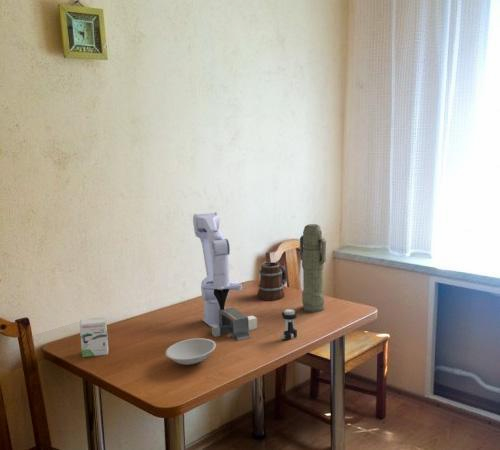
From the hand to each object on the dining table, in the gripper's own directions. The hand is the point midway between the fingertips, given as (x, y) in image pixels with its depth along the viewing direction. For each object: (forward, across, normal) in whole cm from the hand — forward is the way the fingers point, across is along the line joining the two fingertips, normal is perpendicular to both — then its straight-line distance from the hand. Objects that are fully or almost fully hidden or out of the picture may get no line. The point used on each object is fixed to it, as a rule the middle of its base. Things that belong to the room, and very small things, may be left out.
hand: (222, 309), depth 187 cm
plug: (+9, +4, +3) cm, 10 cm away
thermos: (+9, +34, +28) cm, 45 cm away
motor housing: (+9, +4, +3) cm, 10 cm away
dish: (+10, -7, -25) cm, 27 cm away
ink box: (+10, -42, -17) cm, 46 cm away
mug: (+9, +18, +46) cm, 50 cm away
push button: (+10, +24, -4) cm, 26 cm away
